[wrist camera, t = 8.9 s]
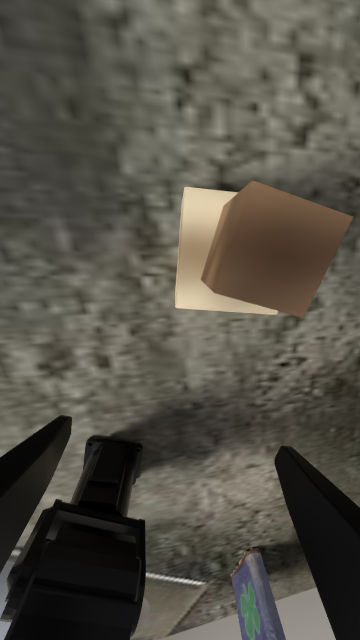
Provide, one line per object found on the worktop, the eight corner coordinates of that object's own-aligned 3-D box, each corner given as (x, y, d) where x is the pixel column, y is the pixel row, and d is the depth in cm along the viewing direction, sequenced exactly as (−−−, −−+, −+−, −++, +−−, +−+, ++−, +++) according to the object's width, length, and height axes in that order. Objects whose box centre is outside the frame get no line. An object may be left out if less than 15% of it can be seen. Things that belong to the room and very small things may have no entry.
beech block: (256, 302, 20) (276, 314, 16) (174, 297, 19) (175, 307, 15) (275, 211, 17) (304, 199, 13) (181, 201, 17) (184, 186, 13)
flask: (248, 545, 32) (284, 683, 22) (265, 548, 32) (308, 684, 22) (227, 577, 35) (251, 712, 24) (243, 578, 35) (272, 712, 25)
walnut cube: (262, 297, 15) (303, 317, 11) (200, 279, 15) (214, 293, 10) (291, 228, 14) (353, 216, 9) (223, 205, 13) (252, 180, 9)
